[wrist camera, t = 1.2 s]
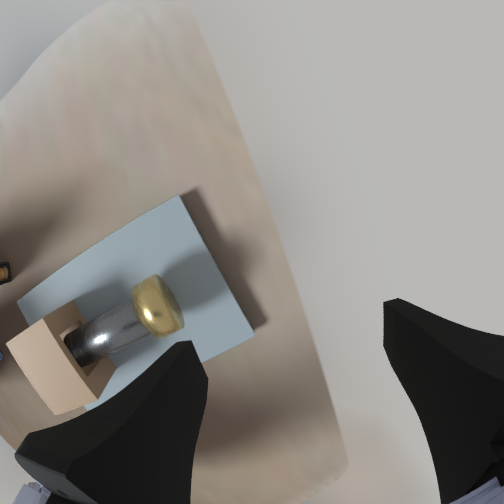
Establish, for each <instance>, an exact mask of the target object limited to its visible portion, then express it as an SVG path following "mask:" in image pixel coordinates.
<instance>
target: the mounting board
mask: <svg viewBox="0 0 504 504" xmlns="http://www.w3.org/2000/svg"><path fill="white" fill-rule="evenodd" d="M153 274H157V275H159V276H160V277H161V278H162V279H163V280H164V281H165V282H166V284H167V285H168V287H169V288H170V290H171V291H172V293H173V295H174V296H175V298H176V300H177V302H178V304H179V306H180V309H181V311H182V314H183V317H184V322H185V326H184V328H183V329H181V330H179V331H177V332H175V333H173V334H171V335H169V336H167V337H165V338H163V339H159V338H157V337H155V336H154V335H153V334H151V335H149V336H147V337H145V338H143V339H141V340H139V341H137V342H135V343H133V344H131V345H129V346H127V347H125V348H123V349H121V350H119V351H117V352H115V353H113V354H111V355H109V356H107V357H105V358H103V359H100V360H98V361H96V362H94V363H92V364H90V365H88V366H86V367H84V368H80V366H79V365H78V363H77V362H76V360H75V359H74V357H73V356H72V354H71V353H70V351H69V350H68V348H67V347H66V345H65V344H64V342H63V339H64V337H65V335H66V334H68V333H70V332H71V331H73V330H75V329H77V328H78V327H80V326H82V325H83V324H85V323H87V322H89V321H90V320H92V319H94V318H96V317H97V316H99V315H101V314H103V313H104V312H106V311H108V310H110V309H111V308H113V307H115V306H117V305H119V304H120V303H122V302H124V301H126V300H127V299H129V298H131V297H132V287H133V286H134V285H136V284H137V283H139V282H141V281H143V280H144V279H146V278H148V277H150V276H152V275H153ZM17 304H18V306H19V308H20V310H21V312H22V314H23V316H24V318H25V320H26V321H27V323H28V325H29V328H27V329H26V330H24V331H23V332H21V333H20V334H19V335H17V336H16V337H14V338H13V339H11V340H10V341H9V342H7V343H6V345H7V347H8V348H9V350H10V352H11V353H12V355H13V357H14V358H15V360H16V362H17V363H18V365H19V366H20V368H21V369H22V371H23V372H24V374H25V375H26V377H27V378H28V380H29V381H30V383H31V384H32V386H33V387H34V388H35V390H36V391H37V393H38V394H39V395H40V397H41V398H42V399H43V401H44V402H45V403H46V404H47V406H48V407H49V408H50V409H51V411H52V412H53V413H54V414H55V416H56V415H59V414H62V413H65V412H67V411H70V410H73V409H76V408H79V407H81V406H84V407H85V408H86V410H90V409H93V408H95V407H97V406H99V405H100V404H102V403H104V402H105V401H107V400H108V399H110V398H111V397H113V396H114V395H116V394H117V393H118V392H120V391H121V390H122V389H124V388H125V387H126V386H127V385H128V384H130V383H131V382H132V381H133V380H134V379H136V378H137V377H138V376H139V375H140V374H142V373H143V372H144V371H145V370H146V369H147V368H148V367H149V366H150V365H152V364H153V363H154V362H155V361H156V360H157V359H158V358H159V357H160V356H161V355H162V354H163V353H164V352H166V351H167V350H168V349H169V348H170V347H171V346H172V345H174V344H175V343H176V342H179V341H187V340H192V342H193V345H194V347H195V349H196V352H197V354H198V357H199V359H200V361H201V363H202V362H204V361H207V360H209V359H211V358H213V357H215V356H217V355H219V354H221V353H223V352H225V351H227V350H229V349H231V348H233V347H235V346H237V345H239V344H241V343H243V342H245V341H247V340H249V339H250V338H252V337H254V336H256V335H255V332H254V330H253V328H252V326H251V325H250V323H249V321H248V319H247V318H246V316H245V314H244V313H243V311H242V309H241V307H240V306H239V304H238V302H237V300H236V298H235V297H234V295H233V293H232V291H231V290H230V288H229V286H228V284H227V282H226V281H225V279H224V277H223V275H222V273H221V272H220V270H219V268H218V266H217V264H216V262H215V261H214V259H213V257H212V255H211V253H210V251H209V250H208V248H207V246H206V244H205V242H204V240H203V238H202V237H201V235H200V233H199V231H198V229H197V227H196V225H195V223H194V221H193V220H192V218H191V216H190V214H189V212H188V210H187V208H186V206H185V204H184V202H183V200H182V198H181V196H180V195H177V196H175V197H173V198H171V199H170V200H168V201H166V202H164V203H162V204H161V205H159V206H157V207H155V208H154V209H152V210H150V211H149V212H147V213H145V214H144V215H142V216H140V217H138V218H137V219H135V220H133V221H132V222H130V223H129V224H127V225H125V226H124V227H122V228H120V229H119V230H117V231H116V232H114V233H112V234H111V235H109V236H108V237H106V238H105V239H103V240H102V241H100V242H98V243H97V244H95V245H94V246H92V247H91V248H89V249H88V250H86V251H85V252H83V253H82V254H80V255H79V256H77V257H76V258H75V259H73V260H72V261H70V262H69V263H67V264H66V265H65V266H63V267H62V268H60V269H59V270H58V271H56V272H55V273H53V274H52V275H51V276H49V277H48V278H47V279H45V280H44V281H43V282H41V283H40V284H39V285H37V286H36V287H35V288H33V289H32V290H31V291H29V292H28V293H27V294H26V295H24V296H23V297H22V298H20V299H19V300H18V301H17Z"/></svg>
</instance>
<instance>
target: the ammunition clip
mask: <svg viewBox="0 0 504 504" xmlns="http://www.w3.org/2000/svg"><path fill="white" fill-rule="evenodd" d="M8 282H11V277H10V270H9V263H8V262H4V263H0V285H2V284H5V283H8Z"/></svg>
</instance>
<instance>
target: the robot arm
mask: <svg viewBox="0 0 504 504" xmlns="http://www.w3.org/2000/svg"><path fill="white" fill-rule="evenodd" d="M383 303H384V304H383V305H384V306H383V308H384V339H383V346H384V349H385V351H386V354H387V356H388V359H389V361H390V364H391V366H392V368H393V370H394V372H395V373H396V375H397V377H398V379H399V381H400V382H401V384H402V386H403V388H404V390H405V391H406V393H407V395H408V397H409V398H410V400H411V402H412V404H413V406H414V408H415V410H416V412H417V414H418V416H419V419H420V421H421V423H422V427H423V430H424V432H425V435H426V438H427V441H428V445H429V448H430V451H431V454H432V459H433V463H434V466H435V471H436V475H437V481H438V485H439V492H440V499H441V504H504V336H501V335H495V334H490V333H486V332H482V331H478V330H475V329H471V328H468V327H465V326H463V325H460V324H457V323H455V322H452V321H449V320H447V319H444V318H442V317H439V316H437V315H435V314H433V313H431V312H429V311H426V310H424V309H422V308H420V307H418V306H415V305H413V304H411V303H409V302H407V301H404V300H402V299H399V298H397V299H393V300H389V301H386V302H383ZM207 390H208V377H207V375H206V373H205V371H204V368H203V366H202V364H201V361H200V359H199V357H198V354H197V352H196V349H195V347H194V345H193V342H192V340H187V341H179V342H176V343H175V344H174V345H172V346H171V347H170V348H169V349H168V350H167V351H166V352H164V353H163V354H162V355H161V356H160V357H159V358H158V359H157V360H156V361H155V362H154V363H153V364H152V365H150V366H149V367H148V368H147V369H146V370H145V371H144V372H143V373H142V374H140V375H139V376H138V377H137V378H136V379H134V380H133V381H132V382H131V383H130V384H128V385H127V386H126V387H125V388H124V389H122V390H121V391H120V392H118V393H117V394H116V395H114V396H113V397H111V398H110V399H108V400H107V401H105V402H104V403H102V404H100V405H99V406H97V407H95V408H93V409H91V410H90V411H88V412H86V413H84V414H82V415H80V416H78V417H76V418H74V419H71V420H69V421H67V422H64V423H62V424H59V425H56V426H53V427H50V428H46V429H43V430H39V431H36V432H31V433H29V434H28V435H27V436H26V437H25V439H24V440H23V442H22V443H21V445H20V446H19V448H18V449H17V451H16V453H15V459H16V460H17V462H18V463H19V464H20V466H21V467H22V468H23V469H24V470H25V471H27V472H28V474H30V475H31V476H32V477H33V478H34V479H35V483H33V482H32V483H29V484H28V485H26V484H23V486H22V487H21V489H20V491H19V493H18V495H17V497H16V498H15V500H14V502H13V504H190V494H191V478H192V467H193V457H194V452H195V446H196V442H197V438H198V434H199V430H200V426H201V422H202V418H203V414H204V409H205V405H206V400H207Z"/></svg>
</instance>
